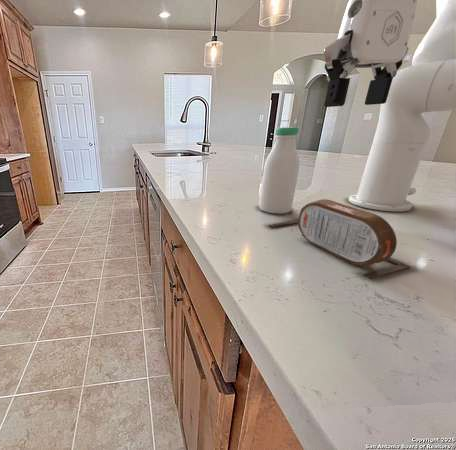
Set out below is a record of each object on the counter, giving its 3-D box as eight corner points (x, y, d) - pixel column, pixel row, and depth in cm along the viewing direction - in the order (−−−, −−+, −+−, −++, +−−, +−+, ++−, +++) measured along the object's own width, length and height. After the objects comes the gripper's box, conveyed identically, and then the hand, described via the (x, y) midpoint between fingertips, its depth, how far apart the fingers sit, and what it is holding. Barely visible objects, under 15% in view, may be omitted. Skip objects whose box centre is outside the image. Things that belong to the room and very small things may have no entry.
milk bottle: (295, 215, 59) (312, 127, 52) (261, 213, 61) (273, 128, 53) (286, 205, 66) (300, 126, 59) (256, 204, 68) (266, 127, 60)
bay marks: (299, 220, 56) (299, 219, 56) (410, 267, 37) (411, 266, 37) (268, 226, 54) (268, 225, 54) (370, 279, 35) (370, 277, 35)
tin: (387, 273, 36) (408, 221, 33) (372, 277, 36) (391, 224, 32) (304, 233, 50) (312, 193, 46) (291, 236, 49) (299, 195, 46)
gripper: (371, -46, 30) (338, 106, 37) (457, -31, 35) (414, 101, 42) (318, -16, 37) (298, 108, 44) (396, -7, 42) (367, 105, 48)
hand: (354, 105), depth 43 cm, fingers open, 9 cm apart
